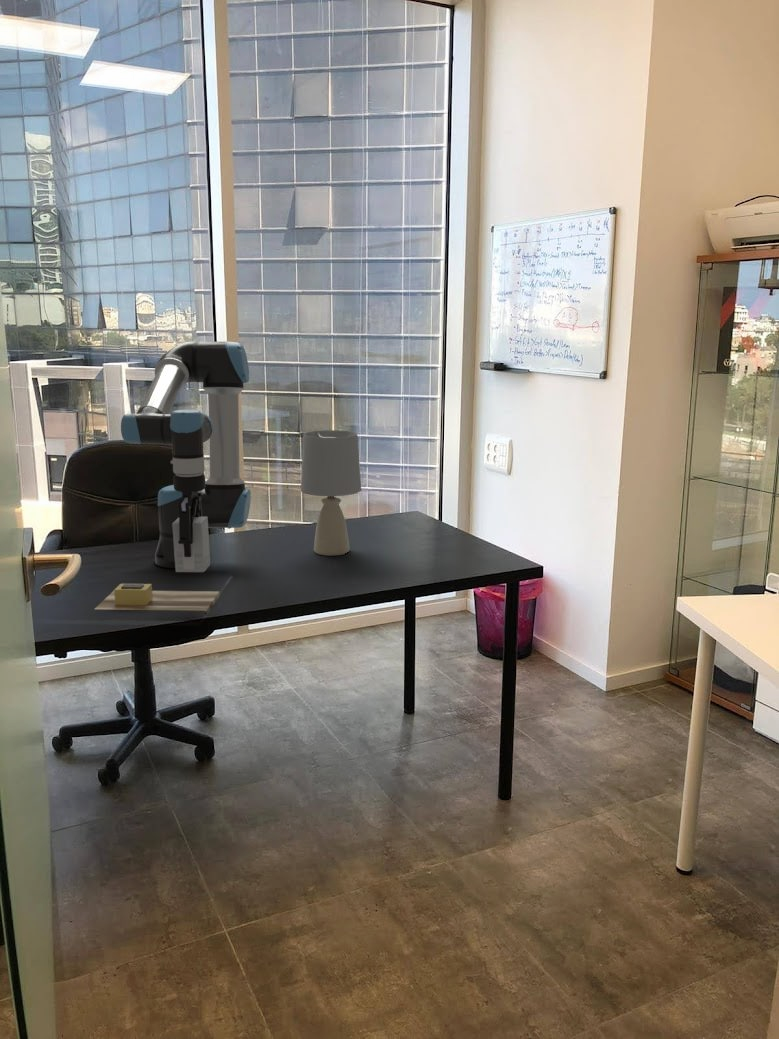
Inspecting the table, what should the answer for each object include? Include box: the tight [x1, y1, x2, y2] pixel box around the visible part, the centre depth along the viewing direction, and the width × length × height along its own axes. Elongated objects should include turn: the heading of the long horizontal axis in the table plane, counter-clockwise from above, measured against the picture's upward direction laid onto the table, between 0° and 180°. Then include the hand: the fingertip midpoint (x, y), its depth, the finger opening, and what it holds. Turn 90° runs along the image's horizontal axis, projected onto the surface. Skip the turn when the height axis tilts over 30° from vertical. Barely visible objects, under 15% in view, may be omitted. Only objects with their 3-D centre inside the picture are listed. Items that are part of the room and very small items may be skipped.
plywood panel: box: [94, 590, 221, 615], centre depth 221 cm, size 15×28×1 cm, turn 89°
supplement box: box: [172, 517, 211, 573], centre depth 214 cm, size 7×7×13 cm
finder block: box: [113, 583, 153, 605], centre depth 219 cm, size 5×8×4 cm, turn 89°
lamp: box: [300, 429, 362, 557], centre depth 266 cm, size 19×19×37 cm
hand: (193, 564), depth 216 cm, fingers closed on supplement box, 7 cm apart
